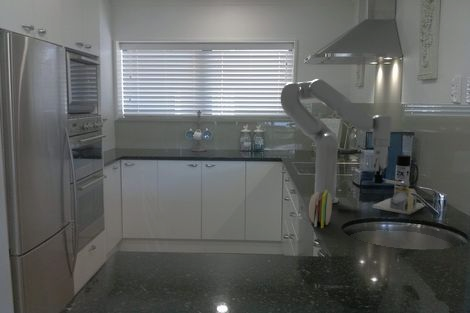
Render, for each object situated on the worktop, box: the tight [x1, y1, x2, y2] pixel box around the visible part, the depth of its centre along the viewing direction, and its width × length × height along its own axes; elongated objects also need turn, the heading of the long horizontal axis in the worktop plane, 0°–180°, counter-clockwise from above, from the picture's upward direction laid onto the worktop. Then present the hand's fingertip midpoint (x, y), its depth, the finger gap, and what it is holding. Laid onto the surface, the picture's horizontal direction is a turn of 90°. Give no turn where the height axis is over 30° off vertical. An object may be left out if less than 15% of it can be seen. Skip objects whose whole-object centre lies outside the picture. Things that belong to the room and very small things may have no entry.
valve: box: [372, 186, 425, 215], centre depth 192 cm, size 20×16×10 cm
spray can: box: [393, 154, 411, 194], centre depth 219 cm, size 7×7×20 cm
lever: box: [372, 177, 410, 187], centre depth 194 cm, size 16×4×2 cm, turn 49°
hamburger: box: [308, 190, 333, 229], centre depth 163 cm, size 12×8×12 cm
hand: (378, 183), depth 195 cm, fingers closed
